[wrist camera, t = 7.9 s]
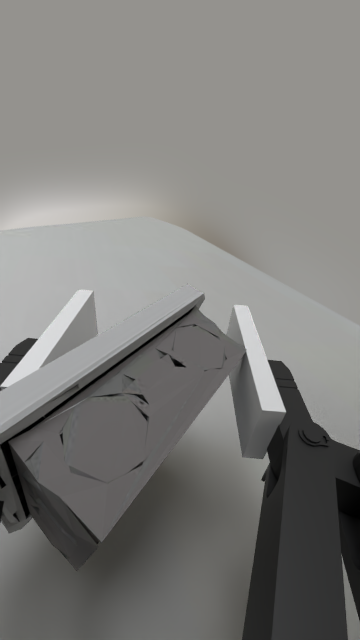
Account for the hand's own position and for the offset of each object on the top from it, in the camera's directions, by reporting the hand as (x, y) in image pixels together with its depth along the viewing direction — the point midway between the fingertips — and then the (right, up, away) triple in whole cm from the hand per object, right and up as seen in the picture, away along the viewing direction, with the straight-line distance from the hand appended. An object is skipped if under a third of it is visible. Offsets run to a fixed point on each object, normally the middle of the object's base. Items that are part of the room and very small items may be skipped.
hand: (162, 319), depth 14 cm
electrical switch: (-2, -8, -1) cm, 8 cm away
